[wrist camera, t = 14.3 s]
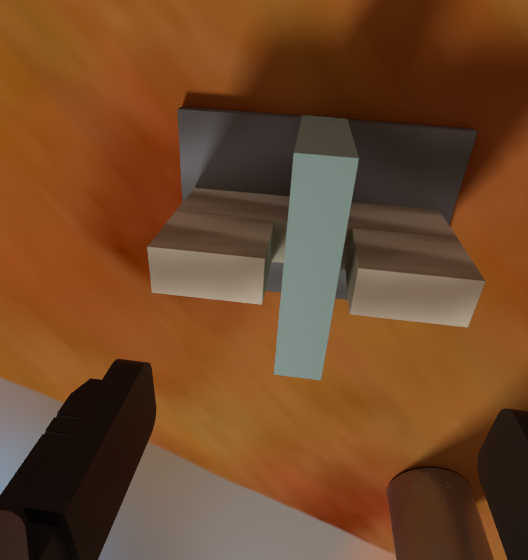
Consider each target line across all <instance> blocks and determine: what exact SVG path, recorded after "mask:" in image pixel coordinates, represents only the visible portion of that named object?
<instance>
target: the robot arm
mask: <svg viewBox="0 0 528 560" xmlns="http://www.w3.org/2000/svg"><path fill="white" fill-rule="evenodd" d="M155 417H156V401H155V393H154V384H153V376H152V368H151V365H150V363H147V362H139V361H131V360H123V359H117V360H115V361H114V362H113V364H112V365H111V367H110V368H109V370H108V371H107V373H106V375H105V376H104V378H103V379H102V380H98V379H89V380H88V381H87V382H85V383H84V384H83V385H82V386H80V387H79V388H78V389H76V390H75V391H74V392H72V393H71V394H70V396H69V397H68V398H67V400H66V401H65V403H64V404H63V406H62V407H61V408H60V410H59V411H58V413H57V417H56V418H55V417H54V419H53V420H52V421H51V423H50V424H49V426H48V427H47V429H46V432H45V434H43V435H42V436H41V437H40V439H39V440H38V442H37V443H36V445H35V446H34V447H33V449H32V450H31V452H30V453H29V455H28V456H27V458H26V459H25V460H24V462H23V463H22V465H21V466H20V468H19V469H18V470H17V472H16V473H15V475H14V476H13V478H12V479H11V481H10V482H9V484H8V485H7V486H6V488H5V490H4V491H3V492H2V494H1V495H0V560H98V558H99V556H100V553H101V551H102V549H103V546H104V544H105V542H106V539H107V537H108V534H109V532H110V530H111V527H112V525H113V523H114V520H115V518H116V516H117V513H118V511H119V509H120V506H121V504H122V502H123V499H124V497H125V495H126V492H127V490H128V487H129V485H130V483H131V480H132V478H133V476H134V473H135V471H136V468H137V466H138V464H139V462H140V459H141V457H142V454H143V452H144V450H145V447H146V445H147V443H148V440H149V438H150V436H151V433H152V430H153V427H154V423H155ZM478 474H479V479H480V482H481V485H482V488H483V491H484V494H485V496H486V499H487V502H488V505H489V508H490V511H491V513H492V516H493V519H494V522H495V525H496V528H497V531H498V533H499V536H500V539H501V542H502V545H503V548H504V550H505V553H506V556H507V559H508V560H528V411H521V410H513V409H502V410H501V411H500V412H499V414H498V416H497V418H496V420H495V422H494V424H493V426H492V428H491V430H490V432H489V434H488V436H487V438H486V440H485V442H484V444H483V446H482V448H481V450H480V452H479V456H478ZM387 494H388V502H389V509H390V517H391V524H392V532H393V539H394V546H395V553H396V559H397V560H494V558H493V555H492V552H491V549H490V546H489V543H488V539H487V536H486V533H485V530H484V527H483V524H482V521H481V518H480V515H479V512H478V509H477V506H476V503H475V500H474V497H473V493H472V490H471V487H470V485H469V483H468V482H467V481H466V480H465V479H464V478H463V477H462V476H460V475H458V474H456V473H454V472H451V471H448V470H444V469H438V468H421V469H415V470H411V471H408V472H405V473H403V474H401V475H399V476H397V477H396V478H395V479H394V480H393V481H392V482H391V483H390V485H389V486H388V490H387Z"/></svg>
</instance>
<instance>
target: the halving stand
mask: <svg viewBox="0 0 528 560" xmlns="http://www.w3.org/2000/svg"><path fill="white" fill-rule="evenodd" d="M301 118H302V116H298V115H285V114H271V113H258V112H245V111H232V110H219V109H206V108H192V107H180V108H178V127H179V146H180V165H181V184H182V204H181V205H180V207H179V208H178V209H177V210H176V212H175V213H174V214H173V215H172V217H171V218H170V219H169V220H168V222H167V223H166V224H165V225H164V227H163V228H162V229H161V230H160V232H159V233H158V234H157V235H156V236H155V238H154V239H153V240H152V241H151V243H150V244H149V245H148V246H147V249H148V258H149V268H150V277H151V287H152V293H161V294H170V295H179V296H188V297H198V298H207V299H216V300H225V301H234V302H243V303H252V304H261V305H262V302H263V298H264V293H265V291H272V292H281V289H282V278H283V267H284V256H285V245H286V233H287V222H288V211H289V200H290V189H291V178H292V166H293V155H294V149H295V145H296V141H297V136H298V132H299V127H300V123H301ZM348 123H349V126H350V129H351V133H352V136H353V140H354V143H355V147H356V150H357V153H358V157H359V161H358V167H357V172H356V178H355V184H354V190H353V196H352V202H351V207H350V213H349V219H348V225H347V231H346V237H345V242H344V248H343V254H342V260H341V266H340V272H339V277H338V283H337V289H336V295H335V298H337V299H346V300H348V303H349V313H350V314H352V315H361V316H370V317H379V318H388V319H397V320H406V321H415V322H424V323H433V324H442V325H451V326H460V327H468V325H469V323H470V320H471V318H472V315H473V312H474V310H475V307H476V305H477V302H478V299H479V297H480V294H481V292H482V289H483V286H484V284H485V280H484V278H483V277H482V275H481V274H480V272H479V271H478V269H477V267H476V266H475V264H474V263H473V261H472V260H471V258H470V257H469V255H468V254H467V252H466V251H465V249H464V248H463V246H462V244H461V243H460V241H459V240H458V238H457V237H456V235H455V234H454V232H453V231H452V229H451V228H450V226H449V223H450V220H451V217H452V213H453V210H454V207H455V204H456V200H457V197H458V194H459V191H460V187H461V184H462V181H463V178H464V174H465V171H466V168H467V165H468V161H469V158H470V155H471V152H472V148H473V145H474V142H475V139H476V135H477V131H475V130H474V129H469V128H456V127H443V126H429V125H416V124H403V123H390V122H377V121H364V120H350V119H348Z"/></svg>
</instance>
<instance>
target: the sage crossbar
mask: <svg viewBox="0 0 528 560" xmlns="http://www.w3.org/2000/svg"><path fill="white" fill-rule="evenodd" d="M358 161H359V157H358V153H357V150H356V147H355V143H354V140H353V136H352V133H351V129H350V126H349V123H348V119H345V118H332V117H319V116H306V115H302V118H301V123H300V127H299V132H298V136H297V141H296V145H295V149H294V155H293V166H292V178H291V189H290V200H289V211H288V222H287V233H286V245H285V256H284V267H283V278H282V289H281V300H280V312H279V323H278V334H277V345H276V356H275V367H274V374H275V375H283V376H291V377H299V378H307V379H315V380H321V377H322V371H323V365H324V359H325V353H326V347H327V342H328V336H329V330H330V324H331V318H332V312H333V307H334V301H335V295H336V289H337V283H338V277H339V272H340V266H341V260H342V254H343V248H344V242H345V237H346V231H347V225H348V219H349V213H350V207H351V202H352V196H353V190H354V184H355V178H356V172H357V167H358Z"/></svg>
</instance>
